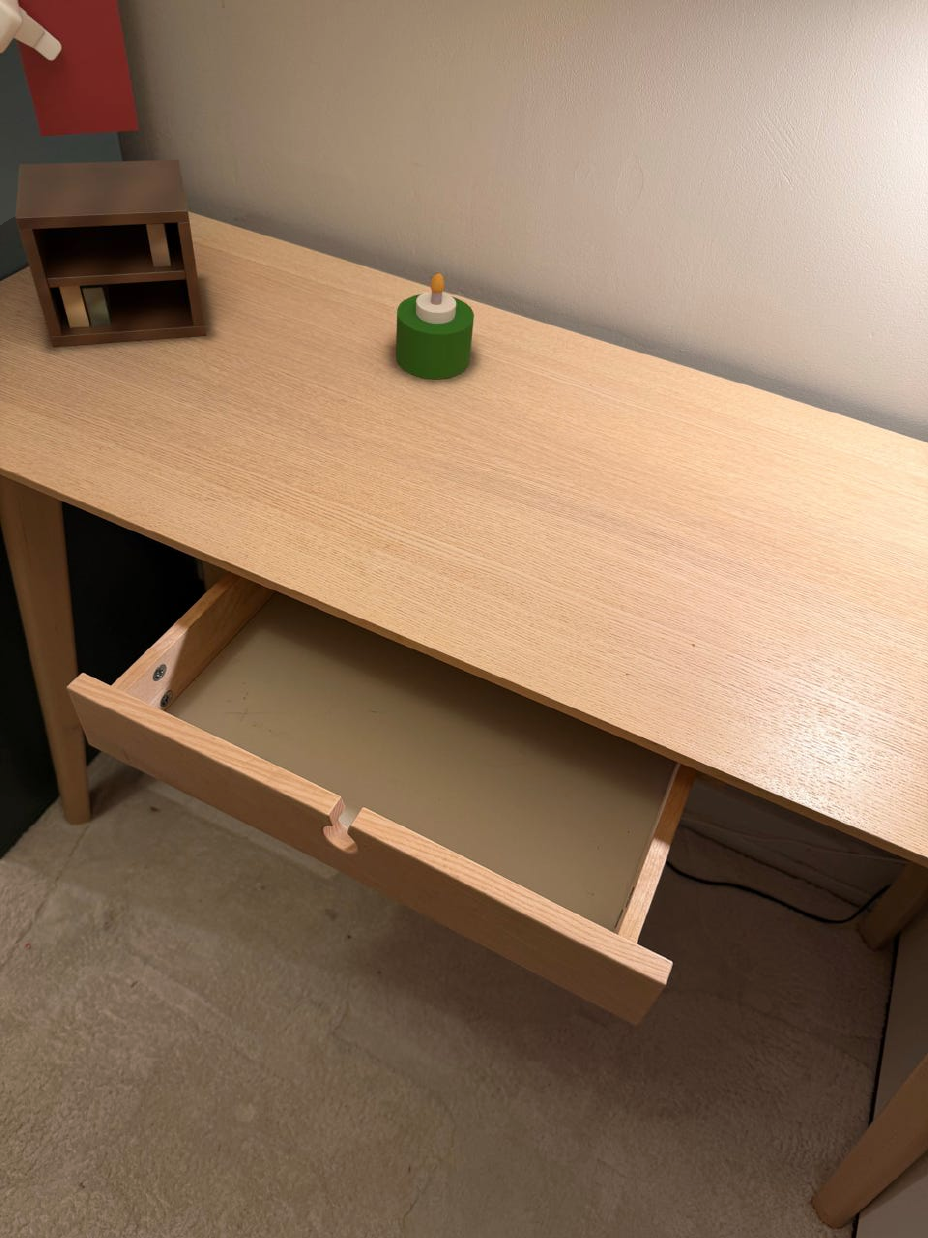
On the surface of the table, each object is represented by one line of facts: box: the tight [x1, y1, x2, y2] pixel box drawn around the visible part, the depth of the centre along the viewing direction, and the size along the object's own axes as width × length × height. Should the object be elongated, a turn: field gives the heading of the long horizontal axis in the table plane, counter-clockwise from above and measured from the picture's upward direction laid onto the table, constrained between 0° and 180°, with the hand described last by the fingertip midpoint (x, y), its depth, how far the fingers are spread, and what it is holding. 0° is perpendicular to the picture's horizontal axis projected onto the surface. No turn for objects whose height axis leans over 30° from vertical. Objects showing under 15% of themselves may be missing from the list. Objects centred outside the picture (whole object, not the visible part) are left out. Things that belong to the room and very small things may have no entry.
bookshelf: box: [15, 159, 207, 348], centre depth 98 cm, size 16×12×14 cm
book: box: [16, 0, 140, 137], centre depth 83 cm, size 9×3×13 cm, turn 112°
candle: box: [395, 272, 475, 380], centre depth 98 cm, size 8×8×10 cm
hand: (54, 43), depth 82 cm, fingers closed on book, 3 cm apart
